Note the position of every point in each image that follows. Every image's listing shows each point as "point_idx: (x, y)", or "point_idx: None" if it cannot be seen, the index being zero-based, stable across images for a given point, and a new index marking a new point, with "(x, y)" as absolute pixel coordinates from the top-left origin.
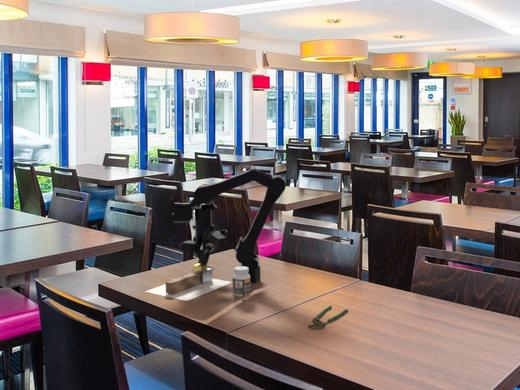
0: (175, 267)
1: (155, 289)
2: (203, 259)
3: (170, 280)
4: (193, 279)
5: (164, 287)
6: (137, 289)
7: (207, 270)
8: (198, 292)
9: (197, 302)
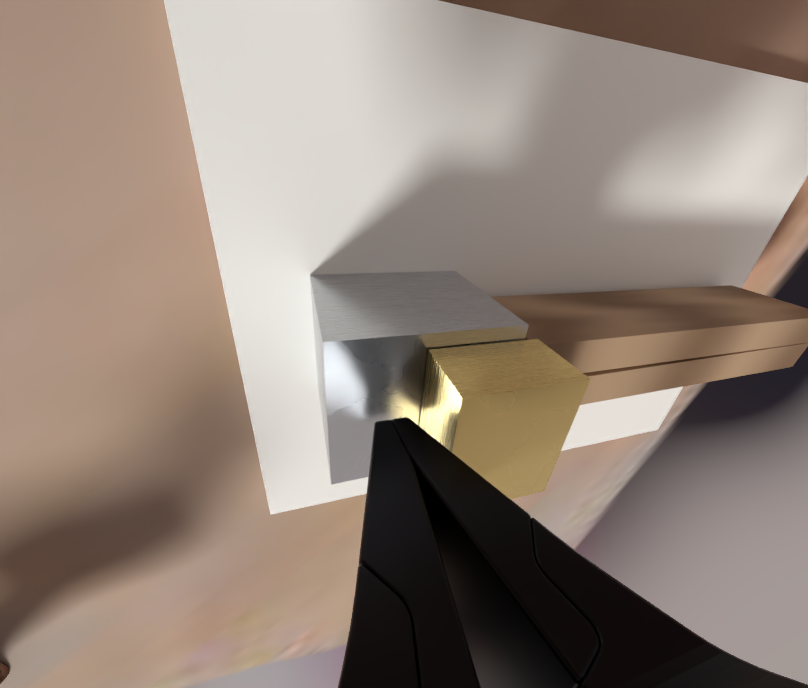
0: (180, 666)
1: (625, 421)
2: (513, 519)
3: (758, 371)
4: (588, 316)
5: (586, 417)
6: (581, 486)
7: (436, 331)
8: (669, 146)
9: (803, 28)
